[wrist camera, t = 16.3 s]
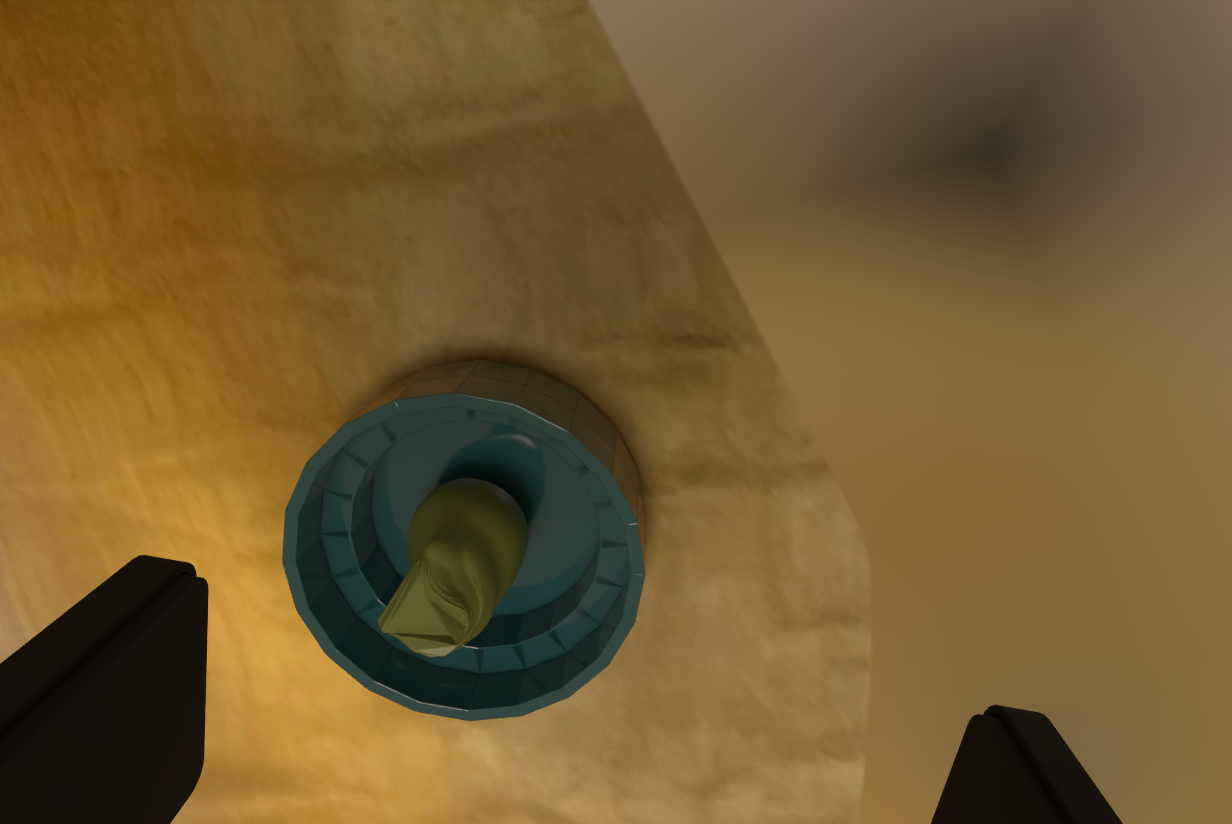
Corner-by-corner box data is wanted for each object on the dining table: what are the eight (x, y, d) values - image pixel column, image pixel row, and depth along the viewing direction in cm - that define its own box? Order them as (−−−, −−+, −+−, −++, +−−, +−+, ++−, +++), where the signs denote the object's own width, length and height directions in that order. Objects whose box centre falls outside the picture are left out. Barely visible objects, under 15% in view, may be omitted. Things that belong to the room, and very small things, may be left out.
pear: (499, 583, 41) (453, 715, 31) (404, 531, 40) (328, 649, 30) (555, 496, 39) (525, 606, 30) (458, 440, 38) (395, 535, 29)
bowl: (325, 615, 42) (274, 687, 37) (346, 331, 38) (292, 363, 32) (614, 666, 43) (609, 745, 37) (671, 389, 38) (675, 432, 32)
